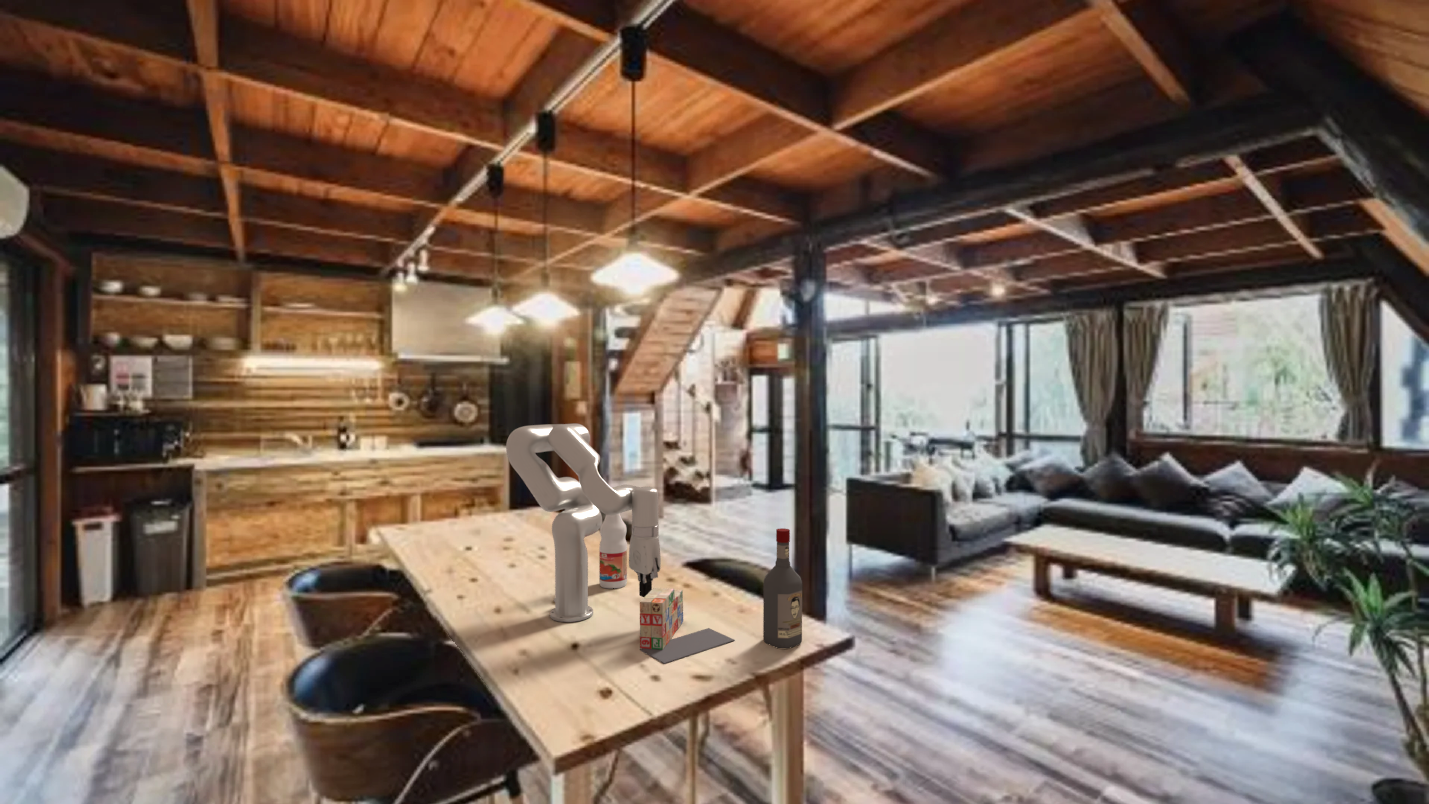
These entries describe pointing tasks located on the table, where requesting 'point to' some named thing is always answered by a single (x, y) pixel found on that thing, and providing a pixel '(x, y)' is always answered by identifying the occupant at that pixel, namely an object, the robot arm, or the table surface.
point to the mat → (688, 645)
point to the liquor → (782, 599)
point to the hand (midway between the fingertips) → (645, 595)
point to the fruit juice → (613, 553)
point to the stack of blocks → (660, 617)
